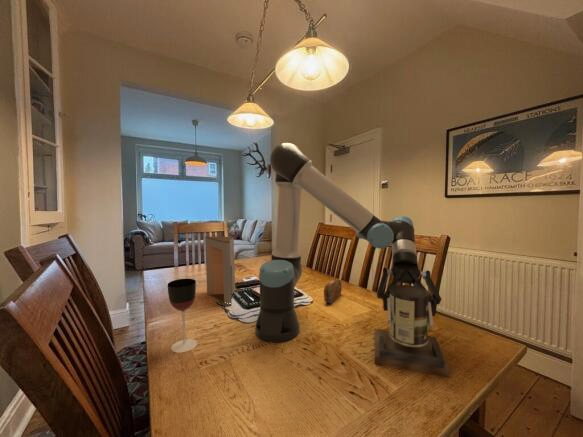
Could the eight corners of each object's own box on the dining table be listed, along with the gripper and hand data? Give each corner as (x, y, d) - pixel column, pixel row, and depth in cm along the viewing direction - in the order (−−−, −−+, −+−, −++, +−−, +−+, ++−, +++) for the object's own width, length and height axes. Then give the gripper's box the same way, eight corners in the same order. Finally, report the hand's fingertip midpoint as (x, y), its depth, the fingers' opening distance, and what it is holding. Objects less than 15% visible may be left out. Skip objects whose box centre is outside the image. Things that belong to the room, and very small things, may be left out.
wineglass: (171, 356, 74) (168, 289, 73) (169, 342, 82) (167, 280, 81) (199, 349, 78) (197, 284, 77) (196, 335, 86) (193, 277, 84)
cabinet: (207, 293, 124) (205, 236, 122) (225, 289, 131) (223, 234, 129) (228, 306, 109) (226, 241, 107) (247, 300, 115) (246, 239, 113)
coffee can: (421, 330, 79) (422, 285, 78) (433, 349, 69) (434, 298, 68) (386, 327, 81) (386, 283, 80) (392, 345, 71) (393, 296, 70)
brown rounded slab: (329, 306, 108) (329, 287, 108) (322, 305, 110) (322, 285, 109) (342, 295, 121) (342, 277, 121) (335, 293, 123) (335, 276, 122)
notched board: (374, 363, 70) (374, 349, 70) (374, 334, 85) (374, 322, 85) (449, 377, 65) (450, 361, 64) (435, 343, 80) (435, 330, 80)
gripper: (440, 264, 84) (453, 334, 71) (369, 260, 91) (367, 323, 78) (445, 251, 79) (459, 325, 65) (368, 248, 86) (367, 314, 72)
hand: (409, 324), depth 71 cm, fingers closed on coffee can, 10 cm apart
